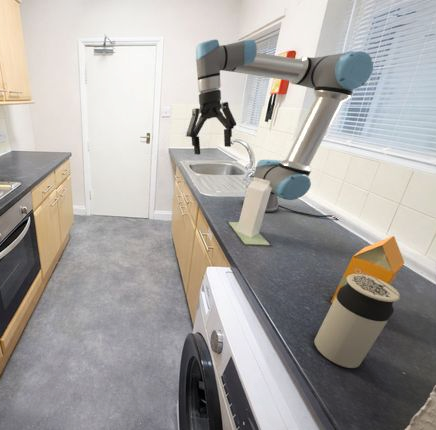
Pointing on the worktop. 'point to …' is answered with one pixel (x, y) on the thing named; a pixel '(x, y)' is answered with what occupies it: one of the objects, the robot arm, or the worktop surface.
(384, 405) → the worktop surface
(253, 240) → the sage mat
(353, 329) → the travel mug
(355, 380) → the worktop surface
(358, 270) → the orange juice
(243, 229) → the milk
